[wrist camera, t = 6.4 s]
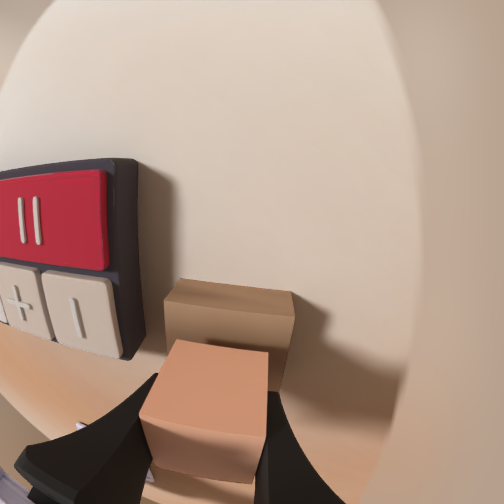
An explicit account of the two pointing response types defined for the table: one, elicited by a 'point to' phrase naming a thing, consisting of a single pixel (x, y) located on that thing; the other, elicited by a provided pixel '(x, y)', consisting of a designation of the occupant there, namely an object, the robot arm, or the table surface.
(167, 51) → the table surface
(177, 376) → the terracotta block
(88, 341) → the calculator
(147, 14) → the table surface
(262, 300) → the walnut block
